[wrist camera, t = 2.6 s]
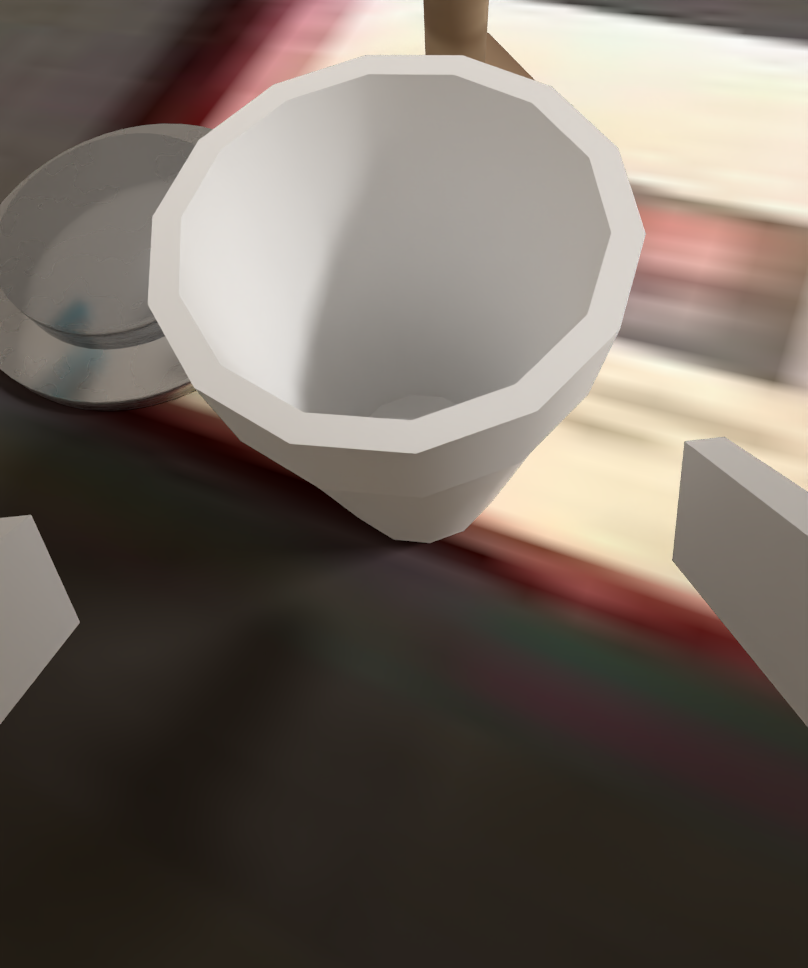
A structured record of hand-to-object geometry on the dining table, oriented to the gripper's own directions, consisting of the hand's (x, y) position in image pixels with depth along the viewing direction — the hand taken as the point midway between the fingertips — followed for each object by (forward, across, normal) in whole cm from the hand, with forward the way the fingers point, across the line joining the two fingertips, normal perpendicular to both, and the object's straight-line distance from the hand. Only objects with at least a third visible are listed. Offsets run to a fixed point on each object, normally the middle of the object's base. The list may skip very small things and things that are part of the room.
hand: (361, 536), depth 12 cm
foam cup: (+11, +1, -4) cm, 12 cm away
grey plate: (+20, -11, +5) cm, 23 cm away
